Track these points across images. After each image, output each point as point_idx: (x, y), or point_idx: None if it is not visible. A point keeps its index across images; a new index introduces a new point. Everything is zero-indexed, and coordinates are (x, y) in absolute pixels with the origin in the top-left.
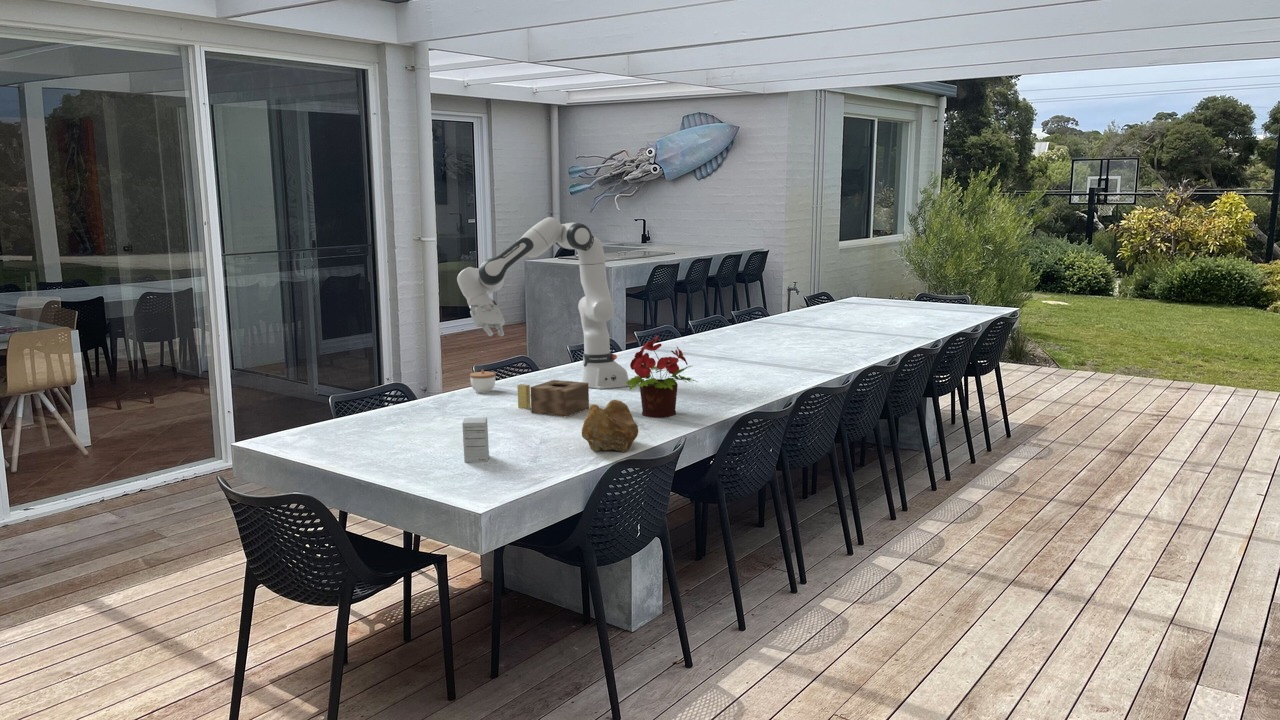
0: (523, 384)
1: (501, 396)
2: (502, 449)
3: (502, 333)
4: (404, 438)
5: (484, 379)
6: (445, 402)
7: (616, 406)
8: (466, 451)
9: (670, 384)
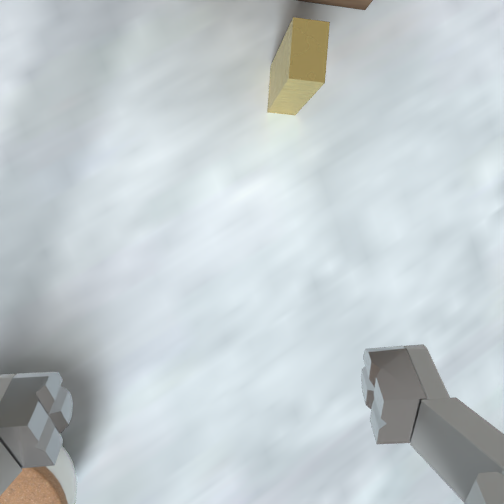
0: (291, 60)
1: (99, 321)
2: None
3: (48, 379)
4: None
5: (51, 466)
6: (297, 477)
7: None
8: None
9: None
